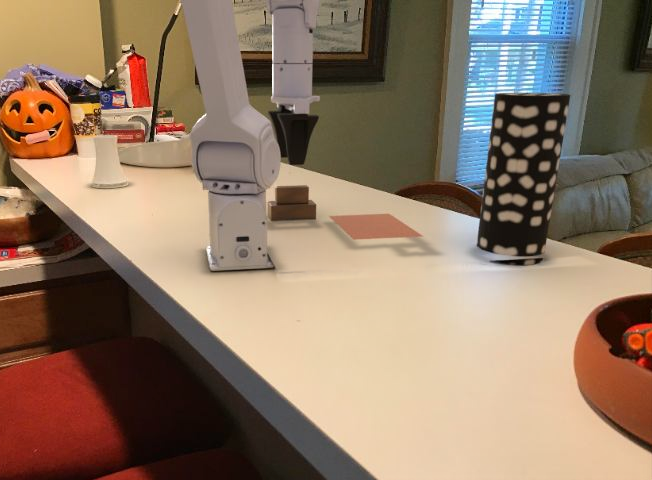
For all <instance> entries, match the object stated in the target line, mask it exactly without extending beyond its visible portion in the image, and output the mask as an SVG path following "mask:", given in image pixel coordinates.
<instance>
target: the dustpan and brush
mask: <svg viewBox="0 0 652 480" xmlns="http://www.w3.org/2000/svg"><path fill="white" fill-rule="evenodd" d="M153 137H154V139H155V140H156V141H150V142H143V143H138V144H132V145H128V146H126V147H122V148H119V149H117V150H118V157H119V161H120V163H123V164H127V165H130V166H131V165H132V166H138V167H145V168H165V169H166V168H169V169H171V168H182V167H190V166H191V167H192V163H191V154H192V147H191V140H190V133H187V134H182V135H181V137H180V138H178V137H175V136H172V135H169V134H164V133H163V134H155V135H154V136H153Z"/></svg>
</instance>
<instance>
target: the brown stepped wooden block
mask: <svg viewBox="0 0 652 480" xmlns="http://www.w3.org/2000/svg"><path fill="white" fill-rule="evenodd" d="M267 217H268V219H269V220H270V222H284V221H285V222H287V221H289V222H290V221H309V220H317V204H316V203H315V201H314V200H312V199H310V187H309V186H308V185H307V184H305V185H304V184H303V185H302V184H301V185H275V186H274V200H268V201H267Z"/></svg>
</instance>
